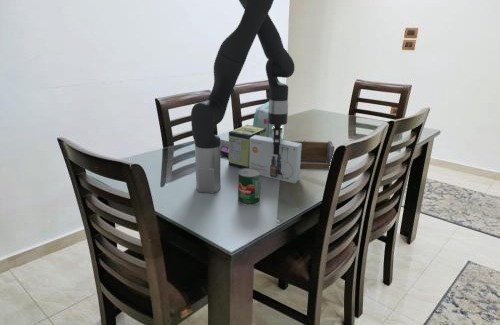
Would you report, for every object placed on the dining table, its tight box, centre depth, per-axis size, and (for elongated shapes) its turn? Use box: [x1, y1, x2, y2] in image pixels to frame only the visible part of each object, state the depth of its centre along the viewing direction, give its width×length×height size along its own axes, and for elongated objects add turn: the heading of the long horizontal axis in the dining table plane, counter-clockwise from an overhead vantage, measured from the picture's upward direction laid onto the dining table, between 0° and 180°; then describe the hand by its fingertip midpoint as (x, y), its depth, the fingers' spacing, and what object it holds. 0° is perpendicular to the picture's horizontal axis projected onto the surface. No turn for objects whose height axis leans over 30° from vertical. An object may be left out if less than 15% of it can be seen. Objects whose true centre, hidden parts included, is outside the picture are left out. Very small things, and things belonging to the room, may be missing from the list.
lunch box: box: [252, 101, 282, 138], centre depth 190 cm, size 27×10×21 cm, turn 161°
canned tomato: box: [237, 168, 262, 206], centre depth 125 cm, size 8×8×11 cm
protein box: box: [228, 124, 266, 169], centre depth 160 cm, size 10×16×16 cm
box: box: [220, 138, 229, 159], centre depth 177 cm, size 14×4×20 cm
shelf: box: [284, 139, 335, 170], centre depth 162 cm, size 11×28×10 cm, turn 87°
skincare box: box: [249, 135, 302, 184], centre depth 146 cm, size 21×5×16 cm, turn 62°
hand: (276, 150), depth 144 cm, fingers open, 8 cm apart
